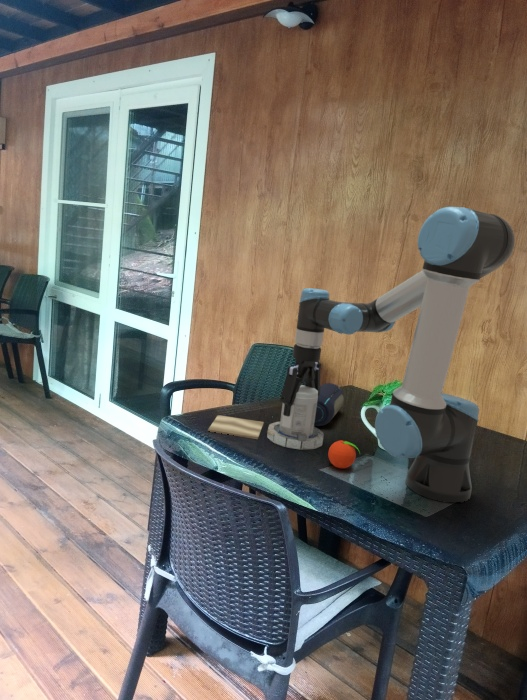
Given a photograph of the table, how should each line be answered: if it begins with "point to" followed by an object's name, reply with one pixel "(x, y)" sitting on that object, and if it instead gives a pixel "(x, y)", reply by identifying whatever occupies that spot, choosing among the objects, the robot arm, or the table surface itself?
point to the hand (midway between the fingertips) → (297, 423)
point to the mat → (236, 427)
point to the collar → (297, 442)
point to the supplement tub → (302, 413)
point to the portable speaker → (328, 403)
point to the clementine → (342, 454)
